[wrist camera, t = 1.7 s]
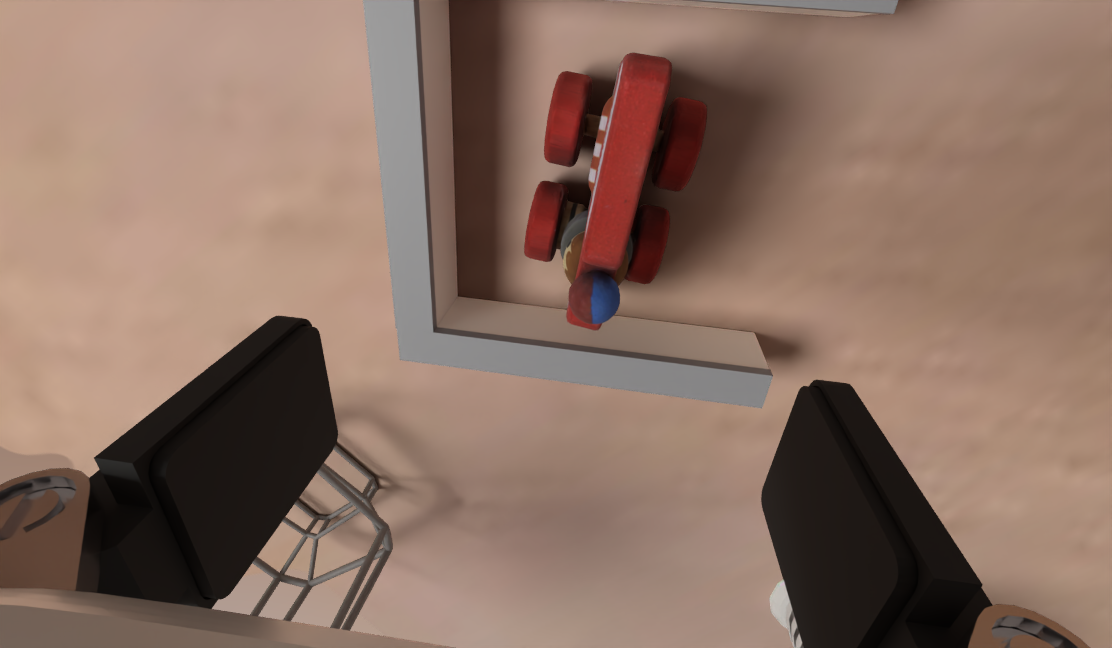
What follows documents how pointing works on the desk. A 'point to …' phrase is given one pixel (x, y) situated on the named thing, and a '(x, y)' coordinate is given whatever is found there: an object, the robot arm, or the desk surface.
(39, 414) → the desk surface
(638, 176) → the toy fire truck
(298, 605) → the geometric lantern
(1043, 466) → the desk surface
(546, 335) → the white u-shaped wall
